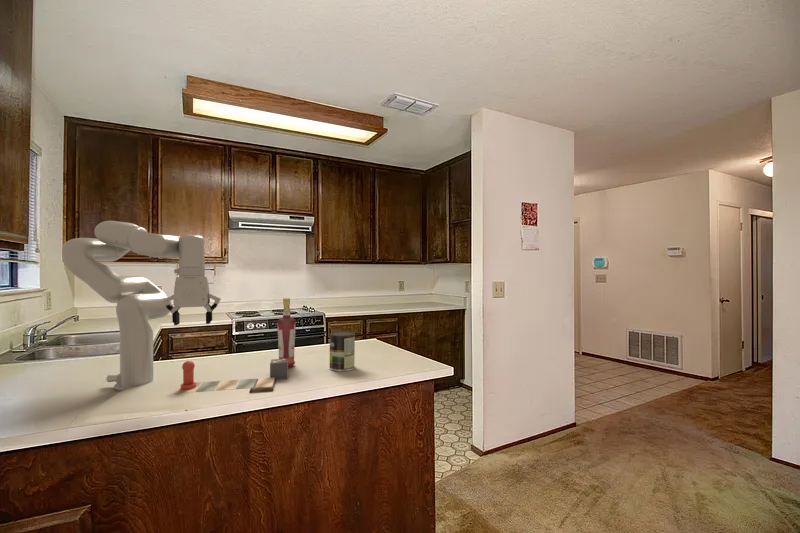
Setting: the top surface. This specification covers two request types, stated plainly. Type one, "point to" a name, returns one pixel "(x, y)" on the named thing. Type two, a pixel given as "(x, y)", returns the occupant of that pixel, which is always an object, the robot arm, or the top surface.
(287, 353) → the liquor
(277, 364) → the die
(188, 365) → the pawn
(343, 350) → the coffee can
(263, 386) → the board
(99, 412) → the top surface
